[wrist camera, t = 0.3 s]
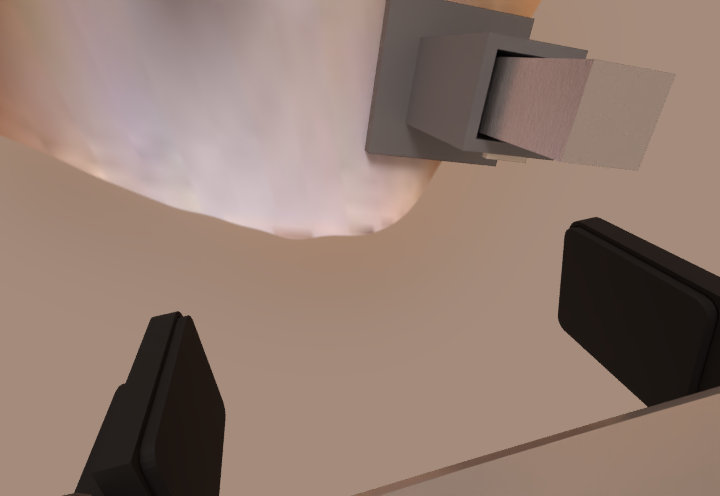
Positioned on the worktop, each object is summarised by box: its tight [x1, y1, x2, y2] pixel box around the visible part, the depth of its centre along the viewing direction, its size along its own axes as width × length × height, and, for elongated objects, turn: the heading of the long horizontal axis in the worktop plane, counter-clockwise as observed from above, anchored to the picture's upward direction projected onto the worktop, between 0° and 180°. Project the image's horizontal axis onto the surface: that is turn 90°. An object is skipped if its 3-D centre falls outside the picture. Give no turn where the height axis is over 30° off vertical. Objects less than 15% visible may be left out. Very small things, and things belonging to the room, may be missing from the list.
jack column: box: [478, 57, 675, 170], centre depth 30 cm, size 5×5×20 cm
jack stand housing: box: [365, 0, 588, 166], centre depth 34 cm, size 13×13×14 cm
